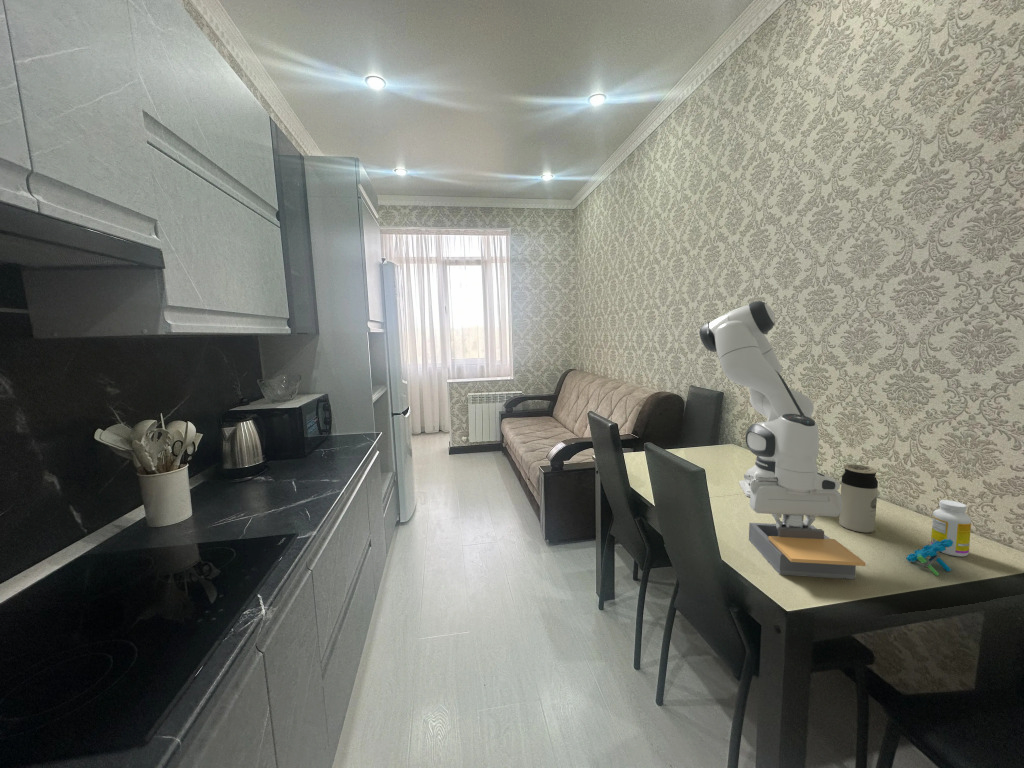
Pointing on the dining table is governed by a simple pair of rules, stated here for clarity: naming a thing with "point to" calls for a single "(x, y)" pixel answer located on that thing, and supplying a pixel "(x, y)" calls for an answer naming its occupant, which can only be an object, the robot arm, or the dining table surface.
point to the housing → (784, 565)
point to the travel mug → (858, 498)
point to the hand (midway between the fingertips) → (792, 529)
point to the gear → (931, 554)
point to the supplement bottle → (952, 527)
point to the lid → (812, 547)
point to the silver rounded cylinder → (793, 521)
